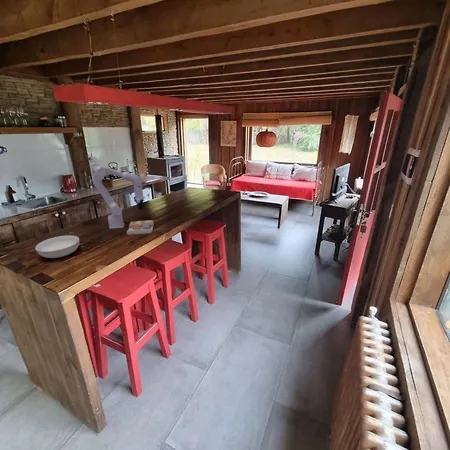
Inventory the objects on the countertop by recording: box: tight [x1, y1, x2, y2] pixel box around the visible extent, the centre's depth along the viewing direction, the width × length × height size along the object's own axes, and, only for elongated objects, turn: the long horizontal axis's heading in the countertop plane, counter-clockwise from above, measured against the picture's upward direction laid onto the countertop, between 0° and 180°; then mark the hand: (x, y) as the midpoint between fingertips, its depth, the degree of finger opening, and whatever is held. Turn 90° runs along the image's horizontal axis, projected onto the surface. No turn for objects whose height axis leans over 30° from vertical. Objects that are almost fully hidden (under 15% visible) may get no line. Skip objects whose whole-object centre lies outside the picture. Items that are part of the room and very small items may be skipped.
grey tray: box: [126, 225, 154, 236], centre depth 174 cm, size 16×9×3 cm, turn 101°
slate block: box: [143, 222, 150, 229], centre depth 177 cm, size 4×4×2 cm
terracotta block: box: [132, 223, 140, 230], centre depth 175 cm, size 4×4×2 cm
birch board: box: [128, 219, 155, 229], centre depth 183 cm, size 16×10×2 cm, turn 101°
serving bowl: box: [34, 235, 80, 259], centre depth 143 cm, size 21×21×7 cm
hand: (140, 209), depth 191 cm, fingers closed
